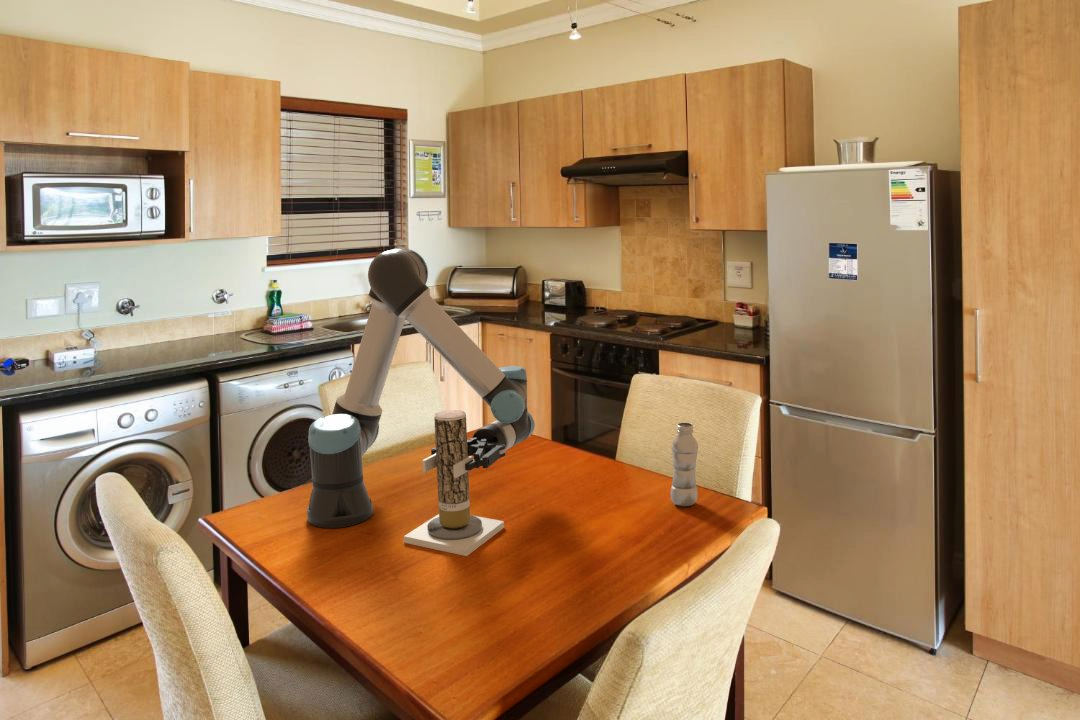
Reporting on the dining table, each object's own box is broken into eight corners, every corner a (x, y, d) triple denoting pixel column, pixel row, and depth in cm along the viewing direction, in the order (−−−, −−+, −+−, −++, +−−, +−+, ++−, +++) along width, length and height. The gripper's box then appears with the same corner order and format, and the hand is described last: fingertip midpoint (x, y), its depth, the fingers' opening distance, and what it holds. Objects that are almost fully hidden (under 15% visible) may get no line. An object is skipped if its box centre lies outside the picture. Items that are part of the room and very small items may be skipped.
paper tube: (465, 530, 165) (460, 418, 160) (435, 528, 166) (429, 417, 162) (473, 518, 172) (469, 410, 167) (445, 516, 173) (440, 409, 168)
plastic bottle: (700, 501, 186) (702, 422, 182) (693, 511, 180) (695, 429, 176) (674, 497, 189) (675, 419, 185) (666, 507, 183) (668, 426, 179)
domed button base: (404, 542, 166) (403, 531, 166) (445, 516, 180) (444, 506, 180) (466, 556, 159) (466, 545, 158) (504, 527, 173) (503, 517, 172)
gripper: (531, 460, 178) (480, 492, 158) (458, 449, 187) (401, 479, 167) (530, 429, 177) (479, 458, 157) (457, 419, 186) (399, 446, 166)
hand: (439, 468), depth 162 cm, fingers open, 7 cm apart
